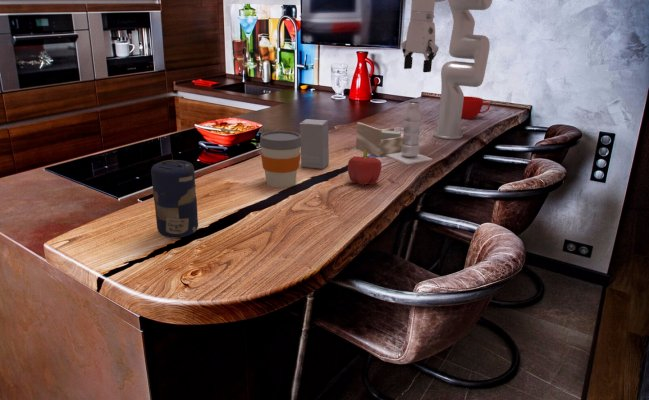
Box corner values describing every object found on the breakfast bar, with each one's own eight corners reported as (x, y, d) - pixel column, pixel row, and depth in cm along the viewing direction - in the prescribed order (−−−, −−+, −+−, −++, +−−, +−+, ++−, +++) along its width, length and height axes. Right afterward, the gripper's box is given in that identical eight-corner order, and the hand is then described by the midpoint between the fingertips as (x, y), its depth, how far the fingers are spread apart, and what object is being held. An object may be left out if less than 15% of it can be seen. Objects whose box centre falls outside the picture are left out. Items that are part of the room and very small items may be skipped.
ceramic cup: (484, 123, 242) (486, 102, 239) (450, 118, 251) (453, 98, 247) (491, 118, 253) (494, 99, 249) (459, 114, 261) (461, 95, 257)
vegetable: (347, 176, 160) (348, 146, 157) (378, 177, 160) (380, 147, 156) (347, 188, 150) (348, 156, 146) (381, 189, 150) (383, 157, 146)
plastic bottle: (418, 159, 178) (423, 104, 171) (399, 158, 179) (403, 103, 172) (418, 155, 184) (424, 101, 176) (400, 153, 185) (405, 100, 178)
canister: (181, 220, 124) (175, 152, 118) (207, 230, 119) (202, 159, 113) (149, 233, 117) (140, 161, 110) (175, 244, 112) (168, 169, 105)
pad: (410, 152, 189) (410, 150, 189) (432, 160, 180) (432, 158, 180) (385, 156, 183) (385, 154, 183) (407, 164, 174) (407, 163, 174)
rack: (393, 142, 203) (395, 118, 199) (416, 150, 192) (418, 125, 188) (355, 147, 194) (357, 122, 190) (377, 156, 183) (379, 130, 179)
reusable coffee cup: (285, 192, 145) (285, 143, 139) (252, 184, 151) (250, 136, 145) (309, 181, 155) (309, 134, 149) (277, 173, 161) (276, 128, 155)
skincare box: (328, 164, 172) (330, 119, 166) (322, 170, 165) (323, 124, 160) (306, 161, 174) (306, 117, 168) (298, 167, 168) (299, 121, 162)
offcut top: (381, 136, 195) (382, 130, 194) (400, 137, 193) (401, 131, 192) (379, 138, 191) (380, 132, 190) (398, 140, 189) (399, 134, 188)
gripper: (448, 18, 159) (442, 72, 165) (412, 16, 173) (408, 67, 179) (431, 18, 155) (426, 74, 162) (396, 16, 169) (392, 68, 175)
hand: (417, 70), depth 170 cm, fingers open, 9 cm apart
